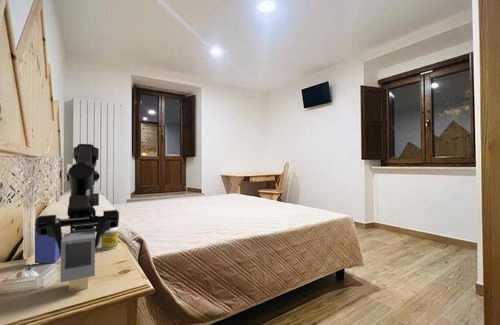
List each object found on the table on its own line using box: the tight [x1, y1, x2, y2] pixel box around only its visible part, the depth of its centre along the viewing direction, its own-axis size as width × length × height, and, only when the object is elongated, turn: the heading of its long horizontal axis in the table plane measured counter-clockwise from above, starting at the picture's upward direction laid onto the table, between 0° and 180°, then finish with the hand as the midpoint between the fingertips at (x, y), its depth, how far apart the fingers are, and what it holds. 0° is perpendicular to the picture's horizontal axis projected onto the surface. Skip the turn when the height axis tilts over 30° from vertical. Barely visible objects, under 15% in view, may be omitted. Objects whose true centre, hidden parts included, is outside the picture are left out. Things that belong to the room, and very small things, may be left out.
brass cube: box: [68, 277, 89, 293], centre depth 65 cm, size 4×4×4 cm
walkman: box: [35, 227, 60, 264], centre depth 80 cm, size 8×3×12 cm, turn 109°
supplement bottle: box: [101, 227, 119, 251], centre depth 94 cm, size 5×5×10 cm
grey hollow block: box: [60, 231, 96, 283], centre depth 65 cm, size 7×7×10 cm
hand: (78, 250), depth 64 cm, fingers closed on grey hollow block, 7 cm apart
